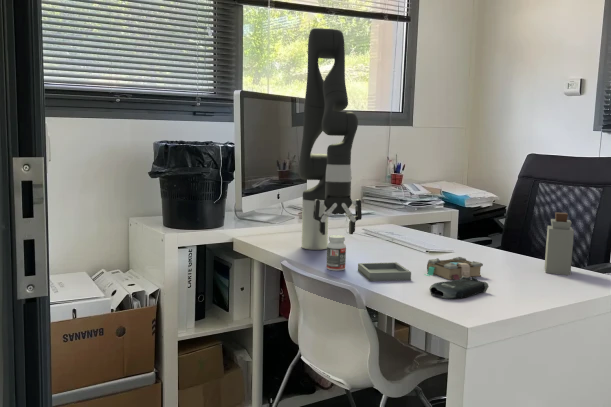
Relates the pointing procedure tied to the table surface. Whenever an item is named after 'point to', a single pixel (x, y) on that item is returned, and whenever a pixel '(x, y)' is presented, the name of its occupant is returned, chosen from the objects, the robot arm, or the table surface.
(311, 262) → the table surface
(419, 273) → the table surface
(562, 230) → the perfume bottle
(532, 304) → the table surface
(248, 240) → the table surface
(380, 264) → the tray
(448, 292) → the electronic device
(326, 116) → the robot arm
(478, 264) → the cardboard box
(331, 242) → the pill bottle
